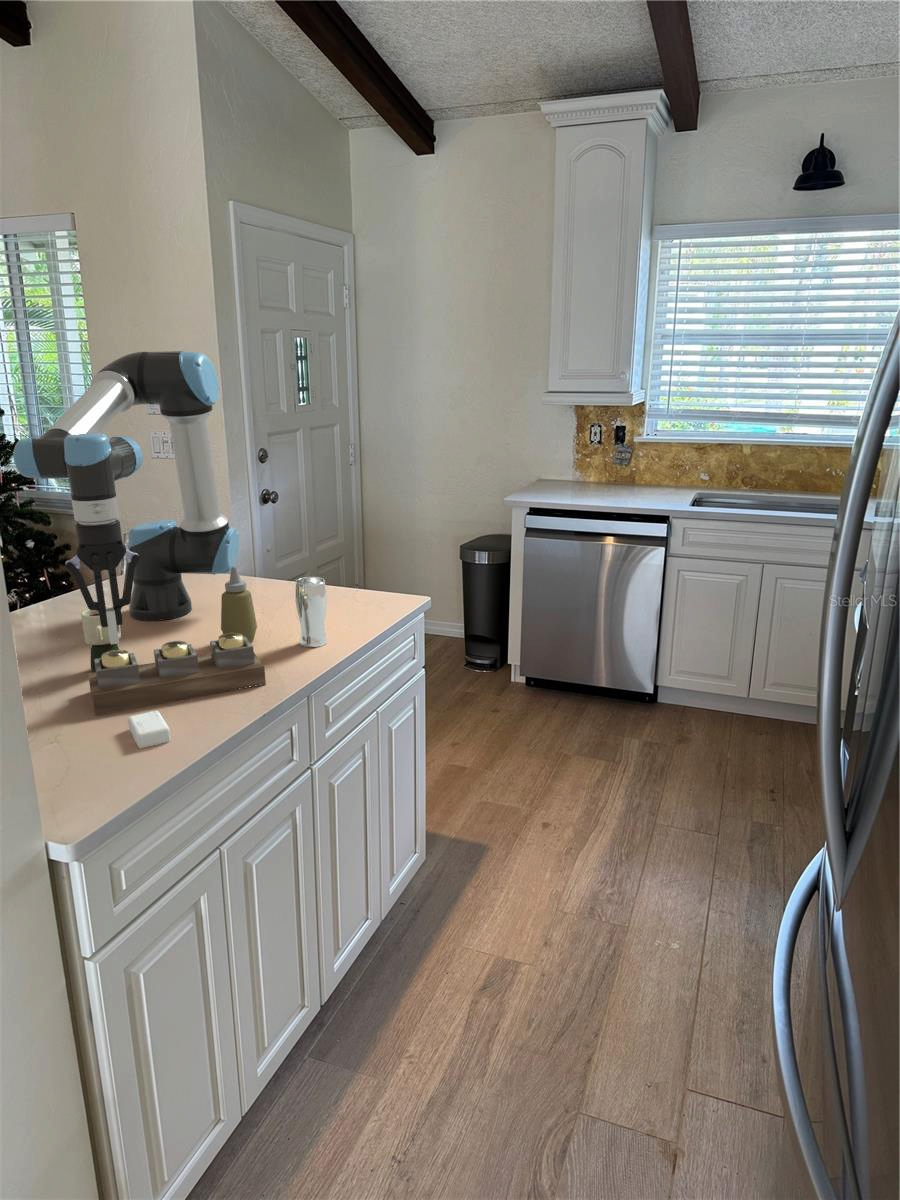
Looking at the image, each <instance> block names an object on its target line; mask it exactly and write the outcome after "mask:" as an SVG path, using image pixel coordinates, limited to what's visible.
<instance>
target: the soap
mask: <svg viewBox="0 0 900 1200" xmlns="http://www.w3.org/2000/svg"><path fill="white" fill-rule="evenodd" d="M127 722H128V729H129V731H130V734H131V735H132V737H133V739H134V742H135V743H136V745H137V747H138V748H139V749H145V747H146V748H150V747H154V746H153V745H155V746H157V745H158V744H159V745H163V744H166V743H165V742H167V743H170V742H171V739H172V737H171V730H170V728H169V725H168V724H167V722H166V720H165V719H164V717H163V716H162V715H161V713H160V711H158V710H152V711H148V712H144V713H139V714H135V715H130V716H129V717H128V718H127ZM169 741H170V742H169ZM162 743H163V744H162ZM149 746H150V747H149Z"/></svg>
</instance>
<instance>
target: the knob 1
mask: <svg viewBox="0 0 900 1200" xmlns="http://www.w3.org/2000/svg"><path fill="white" fill-rule="evenodd" d="M128 654H129V651H127V650H125V649H119V650H112V651H108V652H105V653H103V654H102V655H101V657H102V664H103V669H107V668H113V667H120V666H126V665H130V663H129V655H128Z"/></svg>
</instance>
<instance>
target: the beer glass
mask: <svg viewBox="0 0 900 1200" xmlns="http://www.w3.org/2000/svg"><path fill="white" fill-rule="evenodd" d="M294 590H295V591H294V593H295V606H296V611H297V615H298V620H299V623H300V632H301V633H300V639H299V640H300V641H299V644H300V646H302V647H303V646H304V648H308V647H315V648H320V647H319V646H321V647H323V646H325V645H327V643H328V641H327V640H328V639H327V637H326V632H325V631H326V630H325V622H326V615H327V603H328V601H327V599H328V595H327V587H326V580H325V578H323V577H320V576H305V577H300V578H298V579H296V580H295V589H294Z"/></svg>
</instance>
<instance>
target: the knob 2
mask: <svg viewBox="0 0 900 1200" xmlns="http://www.w3.org/2000/svg"><path fill="white" fill-rule="evenodd" d="M218 640H219V649H220V651H221V650H227V649H234V648H240V647H244V643H243V635H242V634H240V633H226V634H223V633H222V634H220V635H219V636H218Z"/></svg>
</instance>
